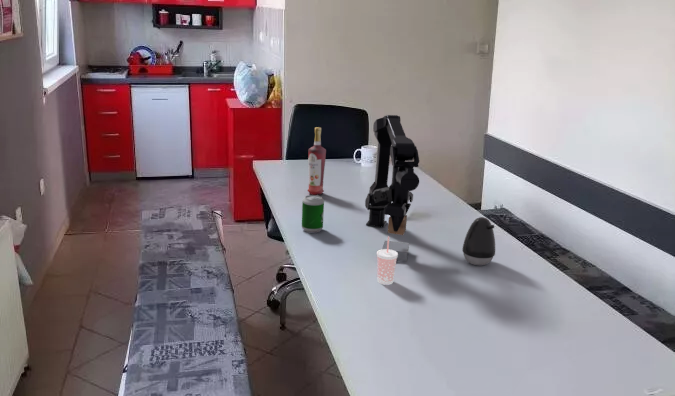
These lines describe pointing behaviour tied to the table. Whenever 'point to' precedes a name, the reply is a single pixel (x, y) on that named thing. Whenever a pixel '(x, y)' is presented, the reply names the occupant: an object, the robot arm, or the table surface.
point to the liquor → (316, 165)
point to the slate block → (398, 249)
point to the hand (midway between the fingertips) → (397, 228)
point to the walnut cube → (401, 228)
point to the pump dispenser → (479, 242)
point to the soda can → (312, 213)
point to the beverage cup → (386, 265)
